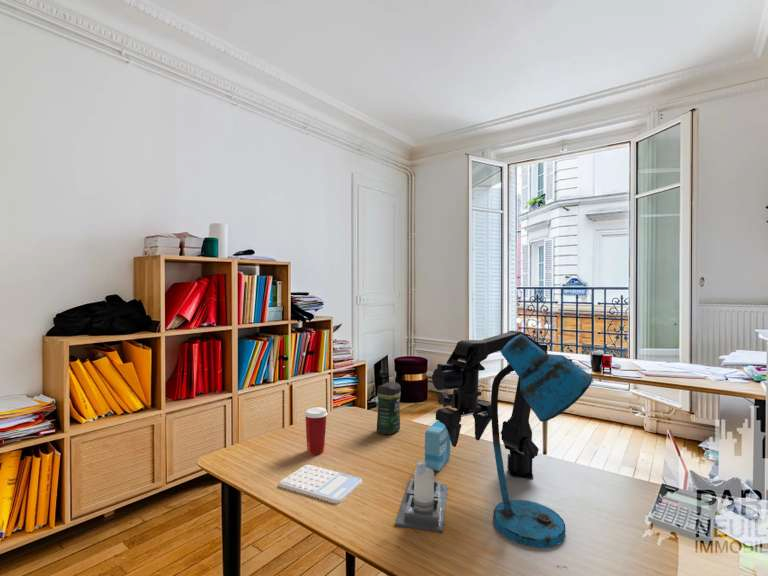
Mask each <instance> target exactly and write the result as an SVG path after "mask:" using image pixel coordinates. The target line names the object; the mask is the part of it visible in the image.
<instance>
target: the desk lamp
mask: <svg viewBox="0 0 768 576" xmlns="http://www.w3.org/2000/svg"><path fill="white" fill-rule="evenodd" d="M500 352H501V356H502V357H503V358H504V359H505V360H506V362H507V363H508V364H507V365H506V366H505V367H503V368H502V369H501V370H499V371H498V373H497V374H496V375H495V377H494V378H493V381H492V384H491V392H490V393H491V394H490V403H491V421H490V422H491V432H492V433H491V436H492V443H493V444H492V445H493V450H494V451H493V452H494V459H495V465H496V472H497V478H498V482H499V483H498V484H499V489H500V494H501V499H502V502H500V503H498V504H496V505H495V507H494V509H493V517H492V518H493V519H492V521H493V524H494V526H495V528H496V529H497V530H498V531H499V532H500V533H501V534H502V535H503V536H505V537H506V538H507V539H509V540H510V541H513V542H515V543H518V544H520V545H523V546H528V547H532V546H533V548H539V547H541V548H551V547H550V546H552V547H554V546H553V545H556V544H558V543H560V542H562V541H564V540H565V539H566V534H565V532H566V523H565V521H564V519H563V518H562V517H561V515H560V514H559V513H557V512H556V511H554V510H553V509H551V508H550V507H548V506H546V505H544V504H541V503H538V502H534V501H530V500H526V499H524V500H523V499H510V497H509V491H508V485H507V480H506V475H505V474H506V473H505V469H504V468H505V467H504V462H503V455H502V448H501V440H500V425H499V413H498V412H499V411H498V409H499V388H500V385H501V383H502V381H503V379H504V378H505V377H506V376H507V375H509V374H511V373H512V372H515V374H516V375H517V376H518V378H520V392H521V394H522V395H523V397H524V398H525V400H526V401H527V403H528V404H529V406H530V407H531V410H532V412H533V413H534V415H535V416H536V417H537V419H538V420H539V421H540V422H548V421H550V420H552V419H554V418H556V417H558V416H559V415H561V414H562V413H564V412H565V411H566V410H568V409H570V407H572V406H573V405H574V404H575V403H576V402H577V401H578V400H580V398H582V396H584V394H585V393H586V392H587V390H588V389H589V388H590V386H591V385H592V383H593V380H594V378H593V376H592V375H591V374H590V373H588V372H587V371H585V370H584V369H582V367H580V366H578V365H577V364H575V363H574V362H572V361H571V360H570V359H569V358H567V357H566V356H565V355H562V354H553V353H552V354H551V353H550V354H549V353H548V352H547V353H545V352H544V351H543V350H542V349H540V348H539V347H538V346H537V345H535V344H534V343H533V342H532V341H530V340H529V339H528V338H527V337H525V336H524V335H523V334H520V335H518V336H516V337H514V338H513V339H511V340H510V341H509V342H508V343H507V344H506V345H505V346H504V348H503V349H502V350H501V351H500ZM564 538H565V539H564ZM563 539H564V540H563ZM562 543H563V542H562ZM560 544H561V543H560ZM558 545H559V544H558ZM556 546H557V545H556Z"/></svg>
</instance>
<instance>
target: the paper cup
mask: <svg viewBox="0 0 768 576" xmlns="http://www.w3.org/2000/svg"><path fill="white" fill-rule="evenodd" d="M327 416H328V411H327V409H326V408H325V407H319V406H317V407H310V408H307V409H306V410H305V413H304V417H305V434H306V435H305V436H306V450H307V451H306V452H307V454H308V455H311V456H318V455H322V454H324V452H325V444H326V443H325V442H326V431H327V430H326V428H327Z"/></svg>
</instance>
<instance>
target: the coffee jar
mask: <svg viewBox="0 0 768 576" xmlns="http://www.w3.org/2000/svg"><path fill="white" fill-rule="evenodd" d="M401 389H402V388H401V385H400V383H399V382H394V381H388V382H386V383H382V385H378V387H377V417H376V418H377V419H376V432H378V433H380V434H382V435H393V434H395V433H397V432H399V431H400V429H401V407H400V403H401V402H400V401H401V394H402V392H401V391H402V390H401Z"/></svg>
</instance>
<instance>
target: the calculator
mask: <svg viewBox="0 0 768 576" xmlns="http://www.w3.org/2000/svg"><path fill="white" fill-rule="evenodd" d="M362 483H363V479H362V478H361V477H359V476H356V475H355V476H354V475H351V474H347V473H343V472H339V471H336V470H332V469H329V468H328V469H327V468H324V467H320V466H316V465H312V464H305V465H303V466H302V467H301V468H299V469H297V470H296V471H294V472H292V473H290V474H289V475H288V476H286V477H285V478H283V479H281V480H280V481H279V484H278V485H279V487H280V488H281V487H282V488H281V489H284V488H286V489H285V490H288V489H289V490H288V491H291V490H292V491H291V492H294V491H296V492H295V493H298V492H299V493H298V494H301V493H303V494H302V495H304V494H306V495H305V496H307V495H311V496H313V497H312V498H314V497H316V498H315V499H317V498H319V499H318V500H321V499H322V500H321V501H324V500H325V501H324V502H327V501H328V503H331V504H334V503H336V505H338V504H340V503H342V502H343V501H344V500H345V499H346V498H348V496H349V495H352V493H353V492H355V490H356V489H357V488H358V487H360V486H361V485H362ZM311 496H310V497H311Z"/></svg>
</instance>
